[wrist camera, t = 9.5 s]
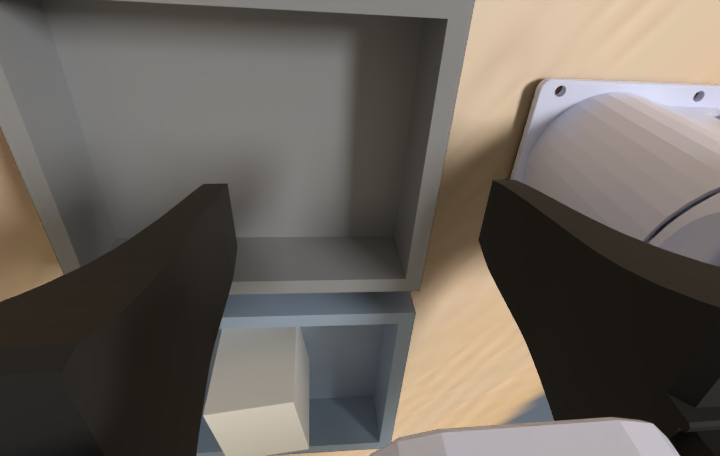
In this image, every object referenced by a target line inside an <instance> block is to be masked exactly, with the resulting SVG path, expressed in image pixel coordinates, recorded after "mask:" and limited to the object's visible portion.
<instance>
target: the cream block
mask: <svg viewBox="0 0 720 456" xmlns="http://www.w3.org/2000/svg"><path fill="white" fill-rule="evenodd" d="M203 417H204V418H205V420H206V422H207V424H208V426H209V427H210V429H211V431H212V433H213V434H214V436H215V438H216V440H217V442H218V443H219V445H220V447H221V449H222V451H223V452H224V454H225V456H266V455H273V454H279V453H286V452H293V451H299V450H306V449H309V357H308V354H307V350H306V346H305V342H304V339H303V335H302V331H301V328H300V327H270V328H234V329H222V332H221V336H220V341H219V345H218V350H217V354H216V359H215V363H214V368H213V372H212V377H211V381H210V386H209V390H208V395H207V399H206V404H205V408H204V413H203Z"/></svg>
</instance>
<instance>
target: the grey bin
mask: <svg viewBox="0 0 720 456" xmlns="http://www.w3.org/2000/svg"><path fill="white" fill-rule="evenodd" d="M474 3H475V0H0V127H1V129H2V131H3V134H4V136H5V138H6V141H7V143H8V145H9V148H10V150H11V152H12V155H13V157H14V159H15V162H16V164H17V166H18V169H19V171H20V173H21V176H22V178H23V180H24V183H25V185H26V187H27V190H28V192H29V194H30V197H31V199H32V201H33V204H34V206H35V208H36V211H37V213H38V215H39V218H40V220H41V222H42V225H43V227H44V229H45V232H46V234H47V236H48V239H49V241H50V243H51V246H52V248H53V250H54V253H55V255H56V257H57V260H58V262H59V264H60V267H61V269H62V271H63V274H64V275H65V274H67V273H69V272H71V271H74V270H76V269H78V268H80V267H82V266H84V265H86V264H88V263H90V262H92V261H94V260H95V259H97V258H99V257H101V256H102V255H104V254H106V253H108V252H110V251H111V250H113V249H115V248H116V247H118V246H120V245H121V244H123V243H124V242H126V241H127V240H129V239H130V238H132V237H133V236H135V235H136V234H138V233H139V232H140V231H142V230H143V229H145V228H146V227H148V226H149V225H150V224H152V223H153V222H155V221H156V220H158V219H159V218H160V217H162V216H163V215H164V214H165V213H167V212H168V211H169V210H170V209H172V208H173V207H174V206H176V205H177V204H178V203H179V202H181V201H182V200H183V199H184V198H186V197H187V196H188V195H189V194H191V193H192V192H193V191H194V190H196V189H197V188H198V187H200V186H201V185H203V184H226V183H228V189H229V195H230V202H231V208H232V214H233V221H234V227H235V233H236V240H237V246H238V247H237V255H236V263H235V270H234V277H233V281H232V285H231V288H230V292H229V295H235V294H288V293H341V292H394V291H420V287H421V282H422V277H423V271H424V266H425V261H426V256H427V250H428V245H429V240H430V235H431V229H432V224H433V219H434V214H435V208H436V203H437V198H438V192H439V187H440V182H441V177H442V171H443V166H444V161H445V156H446V150H447V145H448V140H449V135H450V129H451V124H452V119H453V114H454V108H455V103H456V98H457V92H458V87H459V82H460V77H461V71H462V66H463V61H464V56H465V50H466V45H467V40H468V35H469V29H470V24H471V19H472V14H473V8H474Z"/></svg>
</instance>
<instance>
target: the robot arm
mask: <svg viewBox="0 0 720 456" xmlns="http://www.w3.org/2000/svg"><path fill="white" fill-rule="evenodd" d="M559 86H562V89H561V91H560V92H559V93H558V94H555V90H556V88H558V87H559ZM697 92H698V95H697V96H696V97H695V98H694V95H695V94H696V93H697ZM479 242H480V245H481V249H482V252H483V255H484V258H485V261H486V264H487V266H488V269H489V271H490V273H491V275H492V277H493V279H494V281H495V283H496V285H497V287H498V289H499V291H500V293H501V295H502V296H503V298H504V300H505V302H506V304H507V306H508V308H509V310H510V312H511V314H512V316H513V317H514V319H515V321H516V323H517V325H518V327H519V329H520V331H521V333H522V335H523V337H524V339H525V341H526V344H527V346H528V348H529V351H530V354H531V356H532V359H533V361H534V364H535V367H536V369H537V372H538V374H539V377H540V380H541V383H542V386H543V389H544V391H545V394H546V397H547V400H548V403H549V406H550V409H551V412H552V415H553V418H554V421H548V422H534V423H522V424H521V423H520V424H505V425H491V426H477V427H463V428H449V429H437V430H432V431H427V432H423V433H418V434H413V435H409V436H404V437H400V438H398V439H396V440H394V441H392V442H391V443H389V444H387V445H386V446H384V447H382V448H380V449H379V450H377V451H375V452H373V453H372V454H370V455H369V456H720V85H718V84H696V83H671V82H646V81H621V80H596V79H571V78H546V79H544V80H542V81H541V82H540V83H539V84H538V86H537V88H536V91H535V95H534V98H533V102H532V105H531V109H530V112H529V115H528V119H527V122H526V126H525V129H524V133H523V136H522V139H521V143H520V146H519V150H518V153H517V157H516V160H515V163H514V167H513V170H512V174H511V177H510V180H493V181H492V186H491V190H490V194H489V198H488V202H487V207H486V211H485V215H484V219H483V224H482V228H481V232H480V236H479ZM237 247H238V246H237V240H236V233H235V227H234V221H233V214H232V208H231V202H230V195H229V189H228V183H226V184H203V185H201V186H200V187H198V188H197V189H196V190H194V191H193V192H192V193H191V194H189V195H188V196H187V197H186V198H184V199H183V200H182V201H181V202H179V203H178V204H177V205H176V206H174V207H173V208H172V209H170V210H169V211H168V212H167V213H165V214H164V215H163V216H162V217H160V218H159V219H158V220H156V221H155V222H153V223H152V224H150V225H149V226H148V227H146V228H145V229H143V230H142V231H140V232H139V233H138V234H136V235H135V236H133V237H132V238H130V239H129V240H127V241H126V242H124V243H123V244H121V245H120V246H118V247H116V248H115V249H113V250H111V251H110V252H108V253H106V254H104V255H102V256H101V257H99V258H97V259H95V260H94V261H92V262H90V263H88V264H86V265H84V266H82V267H80V268H78V269H76V270H74V271H71V272H69V273H67V274H65V275H63V276H61V277H59V278H57V279H55V280H53V281H50V282H48V283H46V284H44V285H42V286H39V287H37V288H35V289H32V290H30V291H27V292H25V293H22V294H20V295H17V296H15V297H12V298H10V299H7V300H4V301H2V302H0V456H196V454H197V446H198V439H199V431H200V425H201V418H202V411H203V404H204V398H205V391H206V385H207V379H208V373H209V367H210V361H211V357H212V353H213V349H214V345H215V341H216V338H217V334H218V331H219V327H220V324H221V320H222V317H223V313H224V310H225V306H226V303H227V299H228V296H229V292H230V288H231V285H232V281H233V277H234V270H235V263H236V255H237Z"/></svg>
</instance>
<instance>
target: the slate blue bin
mask: <svg viewBox="0 0 720 456" xmlns="http://www.w3.org/2000/svg"><path fill="white" fill-rule="evenodd" d="M415 314H416V312H415V308H414V305H413V301H412V298H411V294H410V291H394V292H341V293H288V294H235V295H229V296H228V299H227V303H226V306H225V310H224V313H223V317H222V320H221V324H220V327H219V331H218V334H217V338H216V341H215V345H214V349H213V353H212V357H211V361H210V367H209V373H208V379H207V385H206V391H205V398H204V404H203V411H202V418H201V425H200V431H199V439H198V446H197V454H196V456H225V454H224V452H223V451H222V449H221V447H220V445H219V443H218V442H217V440H216V438H215V436H214V434H213V433H212V431H211V429H210V427H209V426H208V424H207V422H206V420H205V418H204V417H203V413H204V408H205V404H206V399H207V395H208V390H209V386H210V381H211V377H212V372H213V368H214V363H215V359H216V354H217V350H218V345H219V341H220V336H221V332H222V329H234V328H270V327H300V328H301V331H302V335H303V339H304V342H305V346H306V350H307V354H308V357H309V449H306V450H299V451H293V452H286V453H279V454H273V455H283V454H300V453H316V452H333V451H349V450H366V449H380V448H382V447H384V446H386V445H387V444H389V443H391V440H392V435H393V429H394V424H395V419H396V413H397V408H398V403H399V398H400V392H401V387H402V382H403V377H404V371H405V366H406V361H407V356H408V350H409V345H410V340H411V335H412V329H413V324H414V319H415ZM266 456H267V455H266Z"/></svg>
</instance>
